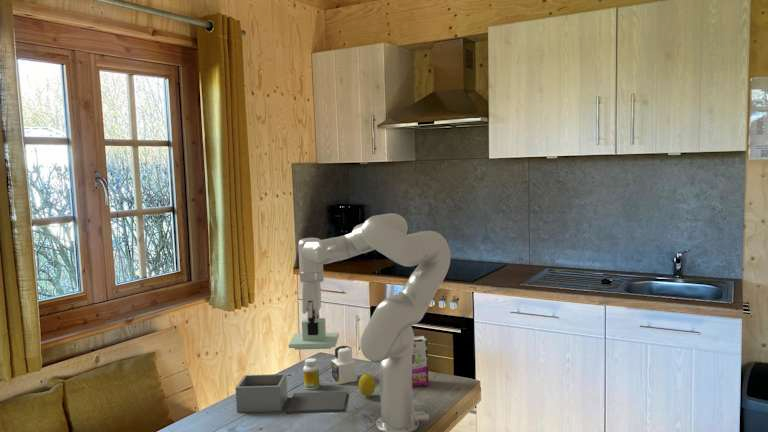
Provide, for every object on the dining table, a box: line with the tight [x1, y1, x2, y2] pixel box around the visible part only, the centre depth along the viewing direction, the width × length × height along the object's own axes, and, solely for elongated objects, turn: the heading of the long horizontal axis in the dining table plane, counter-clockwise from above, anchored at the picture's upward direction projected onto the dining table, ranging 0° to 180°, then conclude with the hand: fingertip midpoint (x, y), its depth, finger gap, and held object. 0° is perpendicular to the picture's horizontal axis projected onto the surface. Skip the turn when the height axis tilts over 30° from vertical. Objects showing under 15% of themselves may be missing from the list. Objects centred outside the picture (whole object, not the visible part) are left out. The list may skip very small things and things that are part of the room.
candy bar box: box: [412, 335, 429, 388], centre depth 200 cm, size 11×5×16 cm, turn 97°
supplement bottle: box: [302, 357, 320, 390], centre depth 202 cm, size 5×5×10 cm
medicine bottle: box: [331, 345, 358, 386], centre depth 207 cm, size 7×7×12 cm
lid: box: [288, 317, 340, 351], centre depth 186 cm, size 15×12×8 cm
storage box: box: [235, 373, 288, 413], centre depth 188 cm, size 14×11×8 cm
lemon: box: [358, 373, 376, 398], centre depth 191 cm, size 6×6×8 cm
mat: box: [285, 391, 348, 414], centre depth 188 cm, size 18×14×1 cm
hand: (314, 332), depth 186 cm, fingers closed on lid, 4 cm apart
